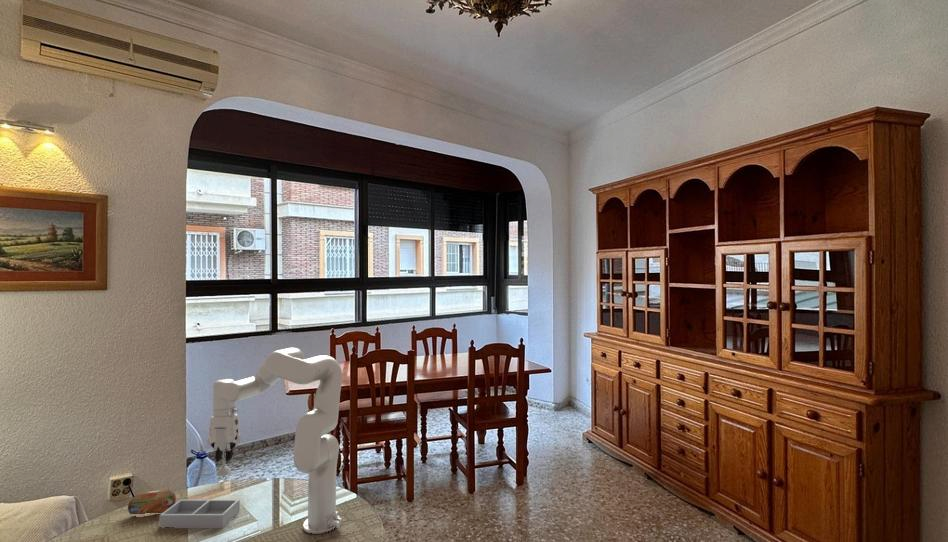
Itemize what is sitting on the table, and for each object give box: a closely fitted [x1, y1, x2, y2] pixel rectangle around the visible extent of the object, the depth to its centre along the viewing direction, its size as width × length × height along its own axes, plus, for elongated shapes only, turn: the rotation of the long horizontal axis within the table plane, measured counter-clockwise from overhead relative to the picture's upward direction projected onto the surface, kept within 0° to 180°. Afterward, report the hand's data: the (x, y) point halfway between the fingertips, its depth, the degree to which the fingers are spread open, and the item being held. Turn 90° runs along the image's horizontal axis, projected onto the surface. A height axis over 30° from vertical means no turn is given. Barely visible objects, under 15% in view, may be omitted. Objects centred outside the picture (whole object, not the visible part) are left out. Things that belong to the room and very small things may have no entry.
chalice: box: [214, 428, 232, 477], centre depth 176 cm, size 7×7×18 cm
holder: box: [158, 499, 241, 529], centre depth 167 cm, size 22×12×4 cm, turn 90°
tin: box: [127, 489, 177, 515], centre depth 172 cm, size 15×3×8 cm, turn 105°
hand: (224, 459), depth 176 cm, fingers closed on chalice, 3 cm apart
